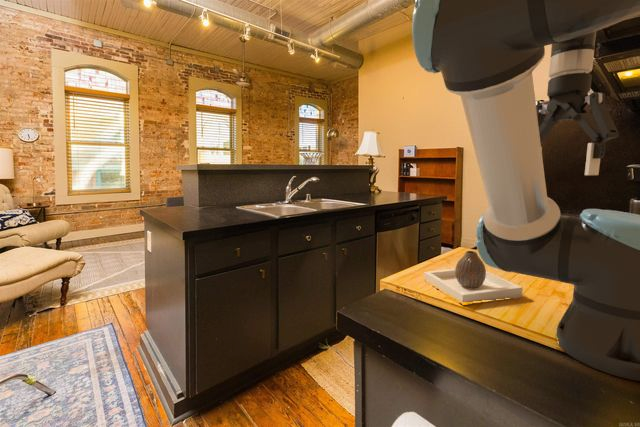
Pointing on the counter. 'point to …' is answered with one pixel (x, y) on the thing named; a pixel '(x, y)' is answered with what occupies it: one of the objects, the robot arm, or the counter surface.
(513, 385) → the counter surface
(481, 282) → the vase
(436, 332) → the counter surface
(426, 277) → the tray
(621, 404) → the counter surface
